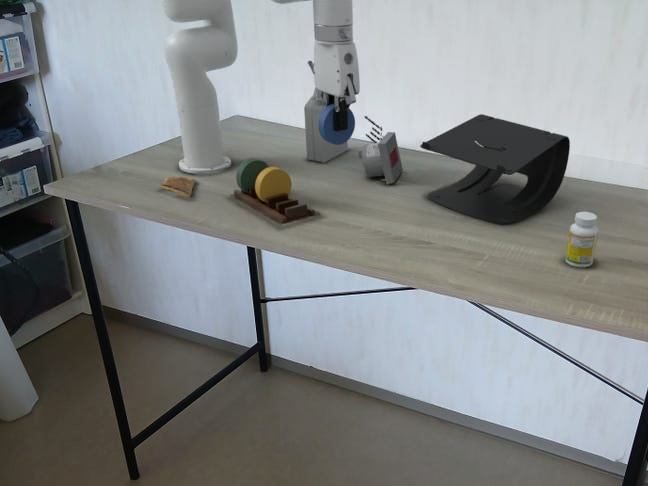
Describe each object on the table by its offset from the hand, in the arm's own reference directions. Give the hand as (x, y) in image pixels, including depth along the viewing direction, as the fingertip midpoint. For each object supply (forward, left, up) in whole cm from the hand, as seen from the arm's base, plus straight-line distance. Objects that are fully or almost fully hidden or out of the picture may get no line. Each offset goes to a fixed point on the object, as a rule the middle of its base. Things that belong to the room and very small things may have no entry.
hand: (337, 127), depth 155 cm
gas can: (-34, +12, -18) cm, 41 cm away
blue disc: (0, 0, -3) cm, 3 cm away
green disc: (-15, -14, -17) cm, 26 cm away
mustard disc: (-7, -13, -17) cm, 22 cm away
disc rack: (-7, -13, -18) cm, 23 cm away
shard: (-26, -27, -18) cm, 41 cm away
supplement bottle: (+46, +29, -18) cm, 57 cm away
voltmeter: (-20, +20, -18) cm, 34 cm away
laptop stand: (+11, +33, -18) cm, 39 cm away
